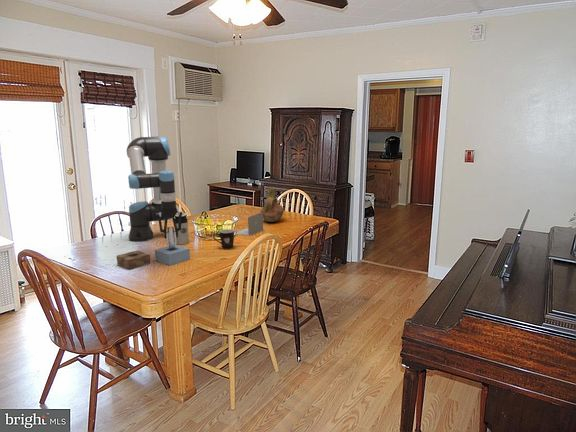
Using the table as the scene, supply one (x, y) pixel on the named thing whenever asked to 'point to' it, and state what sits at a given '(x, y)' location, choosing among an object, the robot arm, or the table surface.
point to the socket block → (172, 255)
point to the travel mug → (182, 230)
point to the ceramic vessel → (272, 207)
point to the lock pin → (171, 238)
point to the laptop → (253, 225)
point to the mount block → (133, 259)
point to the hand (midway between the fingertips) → (171, 243)
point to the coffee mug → (226, 238)
